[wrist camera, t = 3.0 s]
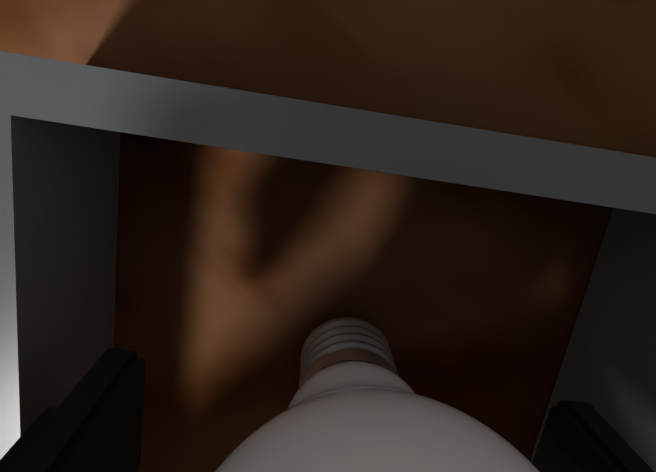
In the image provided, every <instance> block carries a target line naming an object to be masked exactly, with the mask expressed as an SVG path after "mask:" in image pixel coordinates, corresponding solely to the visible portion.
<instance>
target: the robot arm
mask: <svg viewBox="0 0 656 472" xmlns="http://www.w3.org/2000/svg"><path fill="white" fill-rule="evenodd" d="M144 382H145V359H142V358H138V355H137V352H136V351H133V350H124V349H115V348H108V349H107V350H106V351H105V352H104V353H103V354H102V356H101V357H100V358H99V359H98V360H97V361H96V363H95V364H94V365H93V366H92V367H91V369H90V370H89V371H88V372H87V373H86V375H85V376H84V377H83V378H82V379H81V380H80V382H79V383H78V384H77V385H76V386H75V388H74V389H73V390H72V391H71V392H70V394H69V395H68V396H67V397H66V398H65V399H64V401H63V402H62V403H61V404H60V405H59V407H50V408H47V409H46V410H45V411H43V412H42V413H41V414H40V415H39V416H38V418H37V419H36V420H35V421H34V422H33V423H32V424H31V426H30V427H29V428H28V429H27V430H26V431H25V432H24V433H23V435H22V436H21V437H20V438H19V439H18V440H17V441H16V443H15V444H14V445H13V446H12V447H11V448H10V449H9V451H8V452H7V453H6V454H5V455H4V456H3V457H2V458H1V460H0V472H138V470H139V465H140V458H141V440H142V421H143V401H144ZM532 464H533V465H534V466H535V467H536V468H537V469H538V470H539V471H540V472H654V471H653V470H652V469H651V468H650V467H649V465H648V464H647V463H646V462H645V461H644V460H643V459H642V458H641V457H640V456H639V455H638V454H637V453H636V452H635V451H634V450H633V449H632V448H631V447H630V445H629V444H628V443H627V442H626V441H625V440H624V439H623V438H622V437H621V436H620V435H619V434H618V433H617V432H616V431H615V430H614V429H613V428H612V427H611V425H610V424H609V423H608V422H607V421H606V420H605V419H604V418H603V417H602V416H601V415H600V414H599V413H598V412H597V411H596V410H595V409H594V408H593V407H592V406H591V405H590V404H589V403H586V402H578V401H569V400H561V401H559V402H558V403H557V405H555V406H552V407H551V409H550V411H549V414H548V417H547V420H546V423H545V426H544V429H543V432H542V435H541V438H540V441H539V444H538V447H537V450H536V453H535V456H534V459H533V462H532Z"/></svg>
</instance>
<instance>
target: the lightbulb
mask: <svg viewBox="0 0 656 472" xmlns="http://www.w3.org/2000/svg"><path fill="white" fill-rule="evenodd" d="M215 472H540V471H539V470H538V469H537V468H536V467H535V466H534V465H533V464H532V463H531V462H530V461H529V460H528V459H527V458H526V457H525V456H524V455H523V454H522V453H521V452H520V451H519V450H517V449H516V448H515V447H514V446H513V445H512V444H510V443H509V442H508V441H507V440H505V439H504V438H503V437H502V436H500V435H499V434H498V433H496V432H495V431H493V430H492V429H490V428H489V427H487V426H486V425H484V424H483V423H481V422H480V421H478V420H476V419H475V418H473V417H471V416H469V415H468V414H466V413H464V412H462V411H460V410H458V409H456V408H454V407H451V406H449V405H447V404H444V403H442V402H440V401H437V400H434V399H431V398H428V397H425V396H422V395H419V394H416V393H415V392H414V391H413V390H412V388H411V387H410V386H409V385H408V384H407V383H406V382H405V381H404V380H403V379H401V378H400V377H399V376H398V372H397V369H396V366H395V363H394V360H393V357H392V353H391V350H390V347H389V344H388V341H387V339H386V338H385V336H384V335H383V333H382V332H381V331H380V330H379V329H378V328H377V327H375V326H374V325H372V324H371V323H369V322H367V321H365V320H362V319H358V318H352V317H342V318H336V319H332V320H329V321H327V322H325V323H323V324H321V325H319V326H318V327H317V328H315V329H314V330H313V331H312V332H311V333H310V335H309V336H308V337H307V339H306V340H305V342H304V344H303V347H302V351H301V359H300V377H299V389H298V391H297V392H296V393H295V395H294V397H293V398H292V400H291V402H290V404H289V406H288V408H287V410H285V411H283V412H282V413H280V414H278V415H277V416H275V417H274V418H272V419H271V420H269V421H268V422H266V423H265V424H263V425H262V426H261V427H259V428H258V429H257V430H256V431H254V432H253V433H252V434H251V435H249V436H248V437H247V438H246V439H245V440H244V441H243V442H241V443H240V444H239V445H238V446H237V447H236V448H235V449H234V450H233V451H232V452H231V453H230V454H229V455H228V457H227V458H226V459H225V460H224V461H223V462H222V463H221V464H220V466H219V467H218V468H217V469H216V470H215Z"/></svg>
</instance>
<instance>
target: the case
mask: <svg viewBox="0 0 656 472" xmlns="http://www.w3.org/2000/svg"><path fill="white" fill-rule="evenodd" d="M121 132H123V133H129V134H136V135H142V136H149V137H156V138H162V139H169V140H175V141H182V142H188V143H195V144H201V145H208V146H214V147H221V148H227V149H234V150H240V151H247V152H253V153H260V154H267V155H273V156H280V157H286V158H293V159H299V160H306V161H312V162H319V163H325V164H332V165H338V166H345V167H351V168H358V169H364V170H371V171H378V172H384V173H391V174H397V175H404V176H410V177H417V178H423V179H430V180H436V181H443V182H449V183H456V184H462V185H469V186H475V187H482V188H489V189H495V190H502V191H508V192H515V193H521V194H528V195H534V196H541V197H547V198H554V199H560V200H567V201H573V202H580V203H586V204H593V205H600V206H606V207H613V210H612V214H611V217H610V220H609V223H608V226H607V229H606V232H605V235H604V238H603V241H602V244H601V247H600V250H599V253H598V256H597V259H596V262H595V265H594V268H593V271H592V274H591V277H590V280H589V283H588V286H587V289H586V292H585V295H584V298H583V301H582V304H581V307H580V310H579V313H578V317H577V320H576V323H575V326H574V329H573V332H572V335H571V338H570V341H569V344H568V347H567V350H566V353H565V356H564V359H563V362H562V365H561V368H560V371H559V374H558V377H557V380H556V383H555V386H554V389H553V392H552V395H551V398H550V401H549V404H548V407H547V410H546V413H545V416H544V420H543V423H542V426H541V429H540V432H539V435H538V438H537V441H536V444H535V447H534V450H533V453H532V456H531V459H530V462H531V463H532V462H533V459H534V456H535V453H536V450H537V447H538V444H539V441H540V438H541V435H542V432H543V429H544V426H545V423H546V420H547V417H548V414H549V411H550V409H551V407H552V406H555V405H557V403H558V402H559V401H561V400H569V401H578V402H586V403H589V404H590V405H591V406H592V407H593V408H594V409H595V410H596V411H597V412H598V413H599V414H600V415H601V416H602V417H603V418H604V419H605V420H606V421H607V422H608V423H609V424H610V425H611V427H612V428H613V429H614V430H615V431H616V432H617V433H618V434H619V435H620V436H621V437H622V438H623V439H624V440H625V441H626V442H627V443H628V444H629V445H630V447H631V448H632V449H633V450H634V451H635V452H636V453H637V454H638V455H639V456H640V457H641V458H642V459H643V460H644V461H645V462H646V463H647V464H648V465H649V467H650V468H651V469H652V470H653V471H654V472H656V158H655V157H649V156H643V155H637V154H631V153H625V152H618V151H612V150H606V149H600V148H594V147H588V146H581V145H575V144H569V143H563V142H557V141H551V140H545V139H538V138H532V137H526V136H520V135H514V134H508V133H501V132H495V131H489V130H483V129H477V128H471V127H465V126H458V125H452V124H446V123H440V122H434V121H428V120H422V119H415V118H409V117H403V116H397V115H391V114H385V113H378V112H372V111H366V110H360V109H354V108H348V107H342V106H335V105H329V104H323V103H317V102H311V101H305V100H298V99H292V98H286V97H280V96H274V95H268V94H262V93H255V92H249V91H243V90H237V89H231V88H225V87H218V86H212V85H206V84H200V83H194V82H188V81H182V80H175V79H169V78H163V77H157V76H151V75H145V74H138V73H132V72H126V71H120V70H114V69H108V68H102V67H95V66H89V65H83V64H77V63H71V62H65V61H59V60H52V59H46V58H40V57H34V56H28V55H22V54H15V53H9V52H3V51H0V460H1V458H2V457H3V456H4V455H5V454H6V453H7V452H8V451H9V449H10V448H11V447H12V446H13V445H14V444H15V443H16V441H17V440H18V439H19V438H20V437H21V436H22V435H23V433H24V432H25V431H26V430H27V429H28V428H29V427H30V426H31V424H32V423H33V422H34V421H35V420H36V419H37V418H38V416H39V415H40V414H41V413H42V412H43V411H45V410H46V409H47V408H50V407H59V405H60V404H61V403H62V402H63V401H64V399H65V398H66V397H67V396H68V395H69V394H70V392H71V391H72V390H73V389H74V388H75V386H76V385H77V384H78V383H79V382H80V380H81V379H82V378H83V377H84V376H85V375H86V373H87V372H88V371H89V370H90V369H91V367H92V366H93V365H94V364H95V363H96V361H97V360H98V359H99V358H100V357H101V356H102V354H103V353H104V352H105V351H106V350H107V349H108V348H114V322H115V291H116V260H117V229H118V198H119V167H120V136H121Z"/></svg>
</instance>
